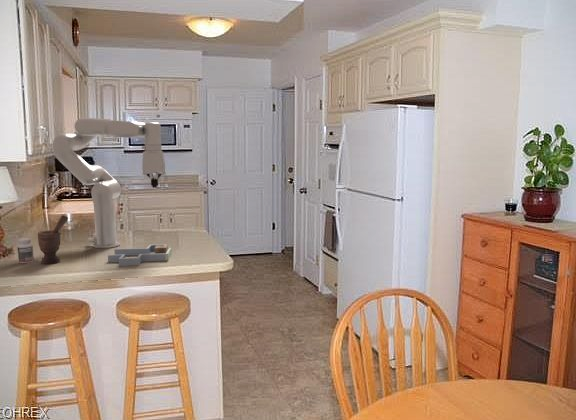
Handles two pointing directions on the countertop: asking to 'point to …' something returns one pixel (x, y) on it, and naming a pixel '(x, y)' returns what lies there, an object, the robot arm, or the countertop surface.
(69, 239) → the countertop surface
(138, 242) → the countertop surface
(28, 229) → the countertop surface
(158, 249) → the block
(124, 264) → the box
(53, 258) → the mortar and pestle
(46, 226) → the countertop surface
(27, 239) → the pill bottle
